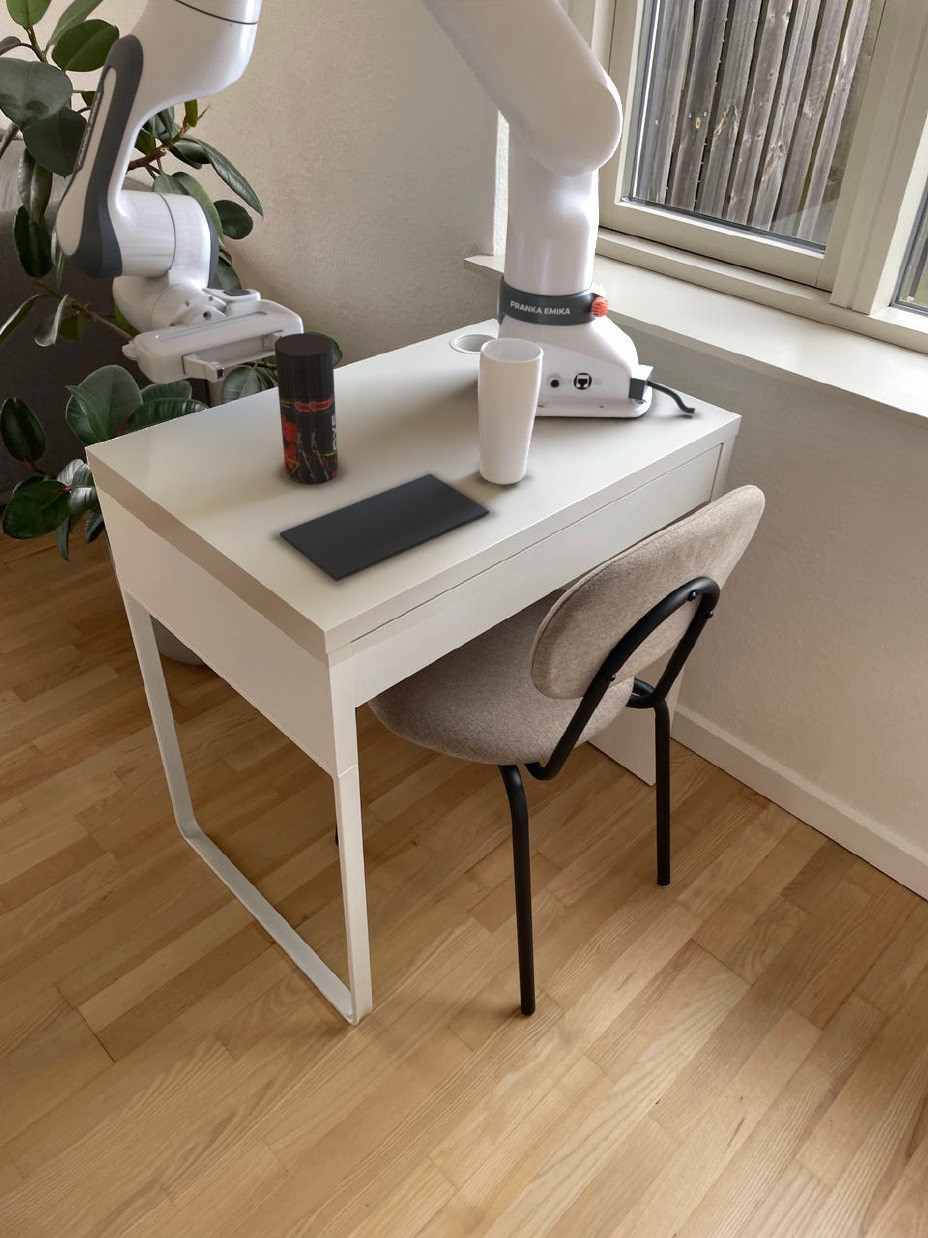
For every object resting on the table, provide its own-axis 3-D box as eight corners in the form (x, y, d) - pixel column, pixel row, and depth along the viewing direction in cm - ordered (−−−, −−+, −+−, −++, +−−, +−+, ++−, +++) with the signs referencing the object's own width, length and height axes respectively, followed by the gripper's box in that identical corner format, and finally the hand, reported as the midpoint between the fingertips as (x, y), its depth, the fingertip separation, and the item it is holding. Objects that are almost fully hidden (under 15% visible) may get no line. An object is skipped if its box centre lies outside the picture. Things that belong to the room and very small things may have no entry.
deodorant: (340, 482, 104) (335, 354, 95) (287, 486, 103) (275, 356, 94) (335, 456, 109) (329, 331, 100) (284, 460, 108) (272, 334, 98)
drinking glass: (526, 493, 104) (539, 366, 95) (467, 485, 105) (473, 358, 96) (535, 464, 109) (547, 341, 100) (478, 457, 110) (485, 333, 101)
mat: (430, 476, 106) (430, 473, 106) (489, 513, 101) (489, 510, 100) (280, 535, 96) (279, 532, 95) (336, 581, 90) (336, 577, 90)
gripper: (110, 320, 107) (167, 360, 99) (264, 285, 118) (327, 319, 110) (120, 372, 111) (176, 414, 103) (269, 334, 122) (329, 370, 114)
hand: (255, 365), depth 106 cm, fingers open, 8 cm apart
